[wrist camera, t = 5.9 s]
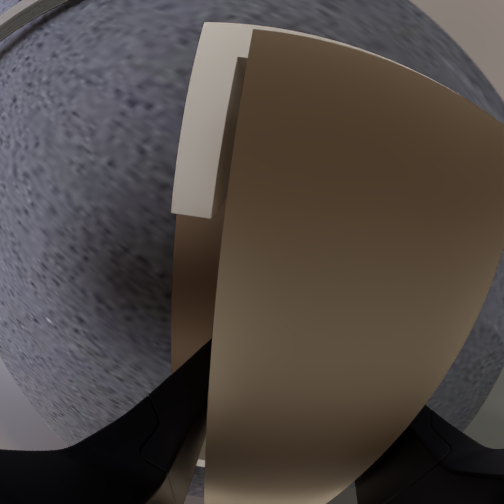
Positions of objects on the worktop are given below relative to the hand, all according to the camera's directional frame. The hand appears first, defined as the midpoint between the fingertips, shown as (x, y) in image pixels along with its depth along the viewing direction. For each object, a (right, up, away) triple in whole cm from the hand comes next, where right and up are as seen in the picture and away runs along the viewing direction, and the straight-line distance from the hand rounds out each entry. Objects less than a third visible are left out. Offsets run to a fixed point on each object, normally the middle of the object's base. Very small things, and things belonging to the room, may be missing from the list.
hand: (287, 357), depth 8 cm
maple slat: (0, 0, +1) cm, 1 cm away
